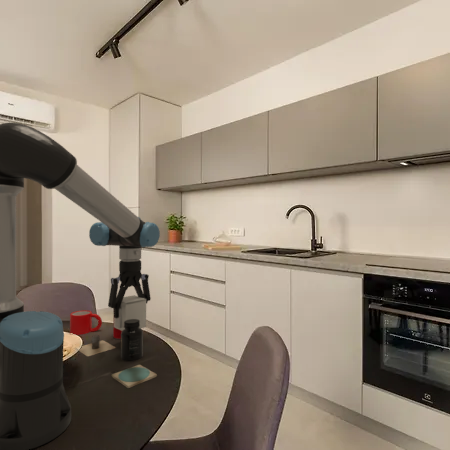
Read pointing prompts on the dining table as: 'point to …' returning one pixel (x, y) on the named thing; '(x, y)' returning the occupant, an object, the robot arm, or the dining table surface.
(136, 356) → the supplement bottle
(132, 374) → the board
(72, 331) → the mug
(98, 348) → the board
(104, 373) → the dining table surface
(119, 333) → the beverage can
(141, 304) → the grey box
